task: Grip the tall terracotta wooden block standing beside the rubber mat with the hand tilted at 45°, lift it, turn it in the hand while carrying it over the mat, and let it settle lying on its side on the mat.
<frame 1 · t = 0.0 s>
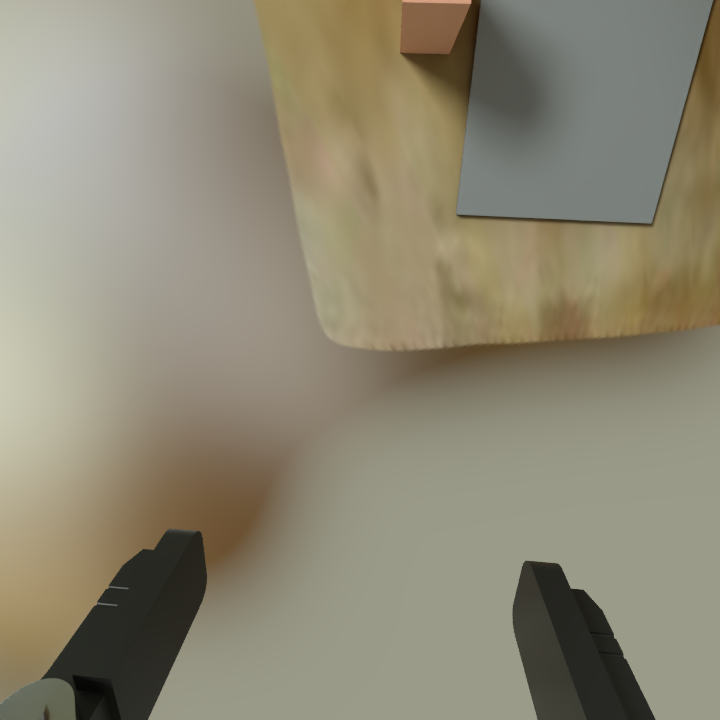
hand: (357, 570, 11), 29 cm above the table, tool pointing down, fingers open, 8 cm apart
mat: (573, 102, 32), on the table
block: (427, 15, 31), on the table
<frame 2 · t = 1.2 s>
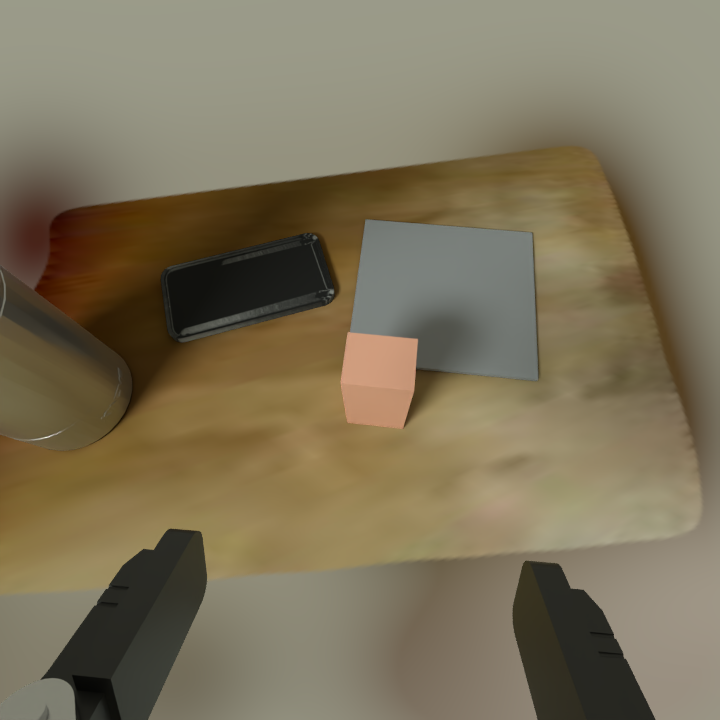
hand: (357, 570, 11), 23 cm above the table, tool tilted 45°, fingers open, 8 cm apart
phone: (249, 290, 41), on the table
mat: (444, 294, 40), on the table
block: (377, 404, 36), on the table
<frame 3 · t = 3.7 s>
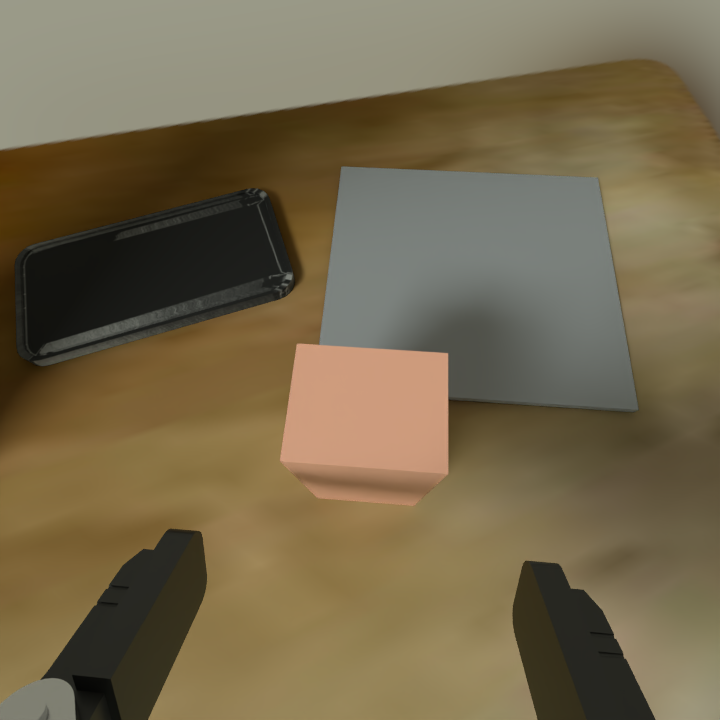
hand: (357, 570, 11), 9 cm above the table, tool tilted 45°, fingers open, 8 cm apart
phone: (161, 279, 26), on the table
mat: (468, 276, 25), on the table
block: (368, 463, 21), on the table
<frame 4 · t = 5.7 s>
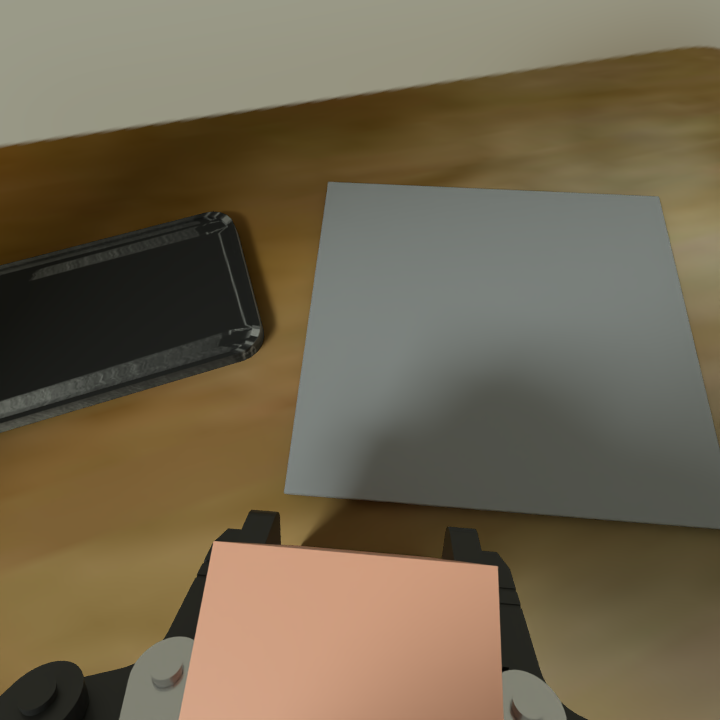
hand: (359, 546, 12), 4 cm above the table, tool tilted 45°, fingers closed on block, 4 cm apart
phone: (92, 330, 20), on the table
mat: (494, 328, 19), on the table
block: (358, 607, 15), on the table, touching gripper
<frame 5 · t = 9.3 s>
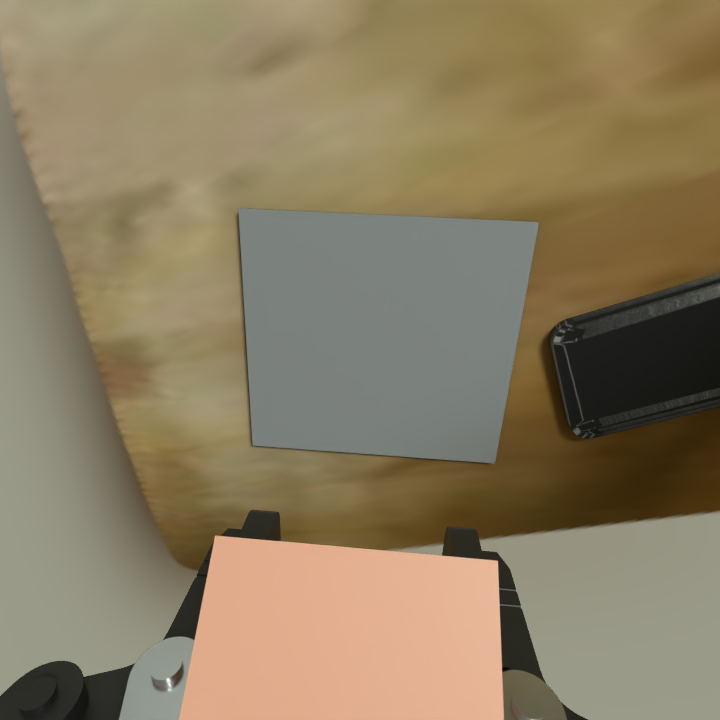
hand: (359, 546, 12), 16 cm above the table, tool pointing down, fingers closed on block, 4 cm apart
phone: (685, 344, 26), on the table
mat: (378, 345, 27), on the table
block: (358, 605, 15), point 14 cm above the table, tilted 45°, touching gripper
when the fingers open (5 cm above the table, at t = 11.7 s): block moves 2 cm and tips over, resting on mat.
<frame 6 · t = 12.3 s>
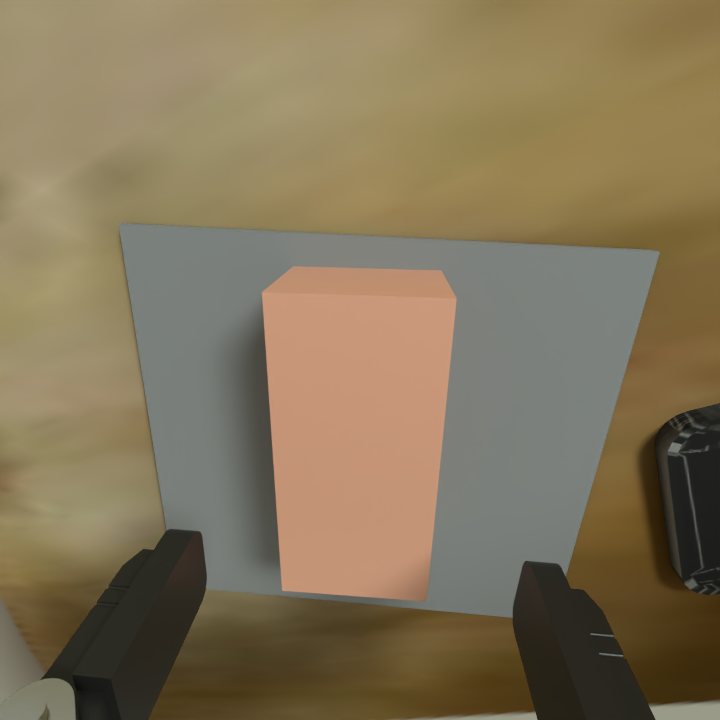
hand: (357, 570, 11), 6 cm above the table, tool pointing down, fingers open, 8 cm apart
mat: (369, 446, 16), on the table
block: (357, 552, 15), point 2 cm above the table, tilted 90°, touching mat
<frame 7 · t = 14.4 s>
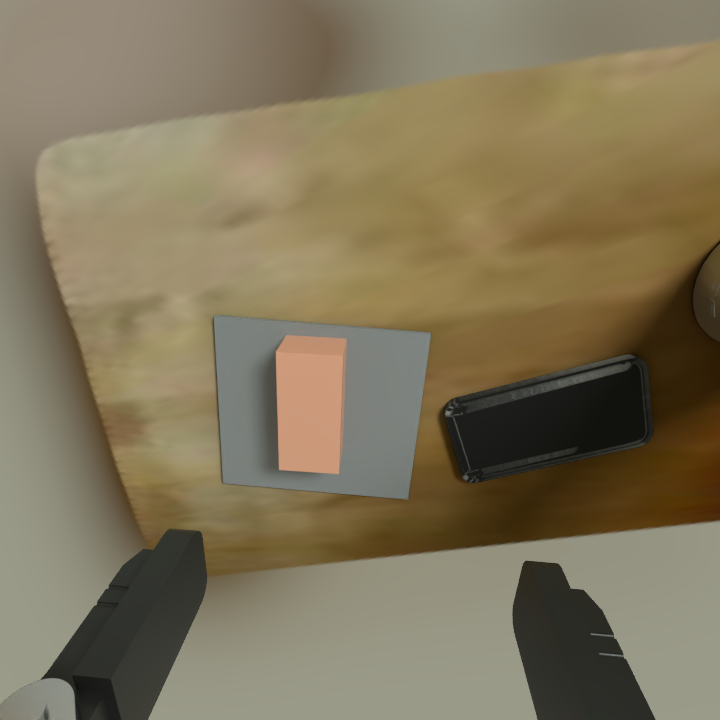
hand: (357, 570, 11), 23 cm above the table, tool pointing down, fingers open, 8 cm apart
phone: (543, 417, 35), on the table
mat: (318, 412, 35), on the table
block: (312, 458, 35), point 2 cm above the table, tilted 90°, touching mat
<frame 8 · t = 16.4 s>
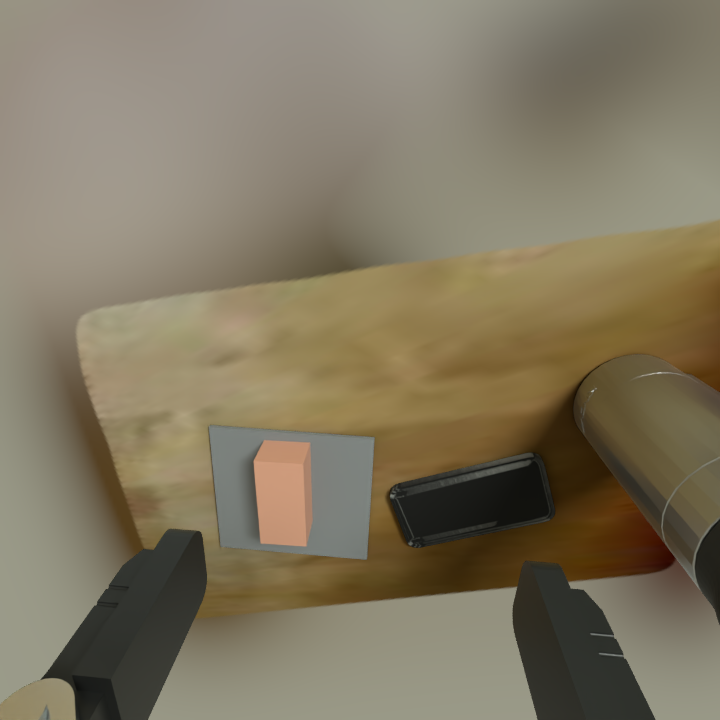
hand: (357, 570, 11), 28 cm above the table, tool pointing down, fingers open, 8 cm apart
phone: (469, 496, 45), on the table
mat: (292, 494, 45), on the table
block: (287, 531, 44), point 2 cm above the table, tilted 90°, touching mat
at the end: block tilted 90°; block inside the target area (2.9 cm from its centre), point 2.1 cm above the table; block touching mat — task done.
